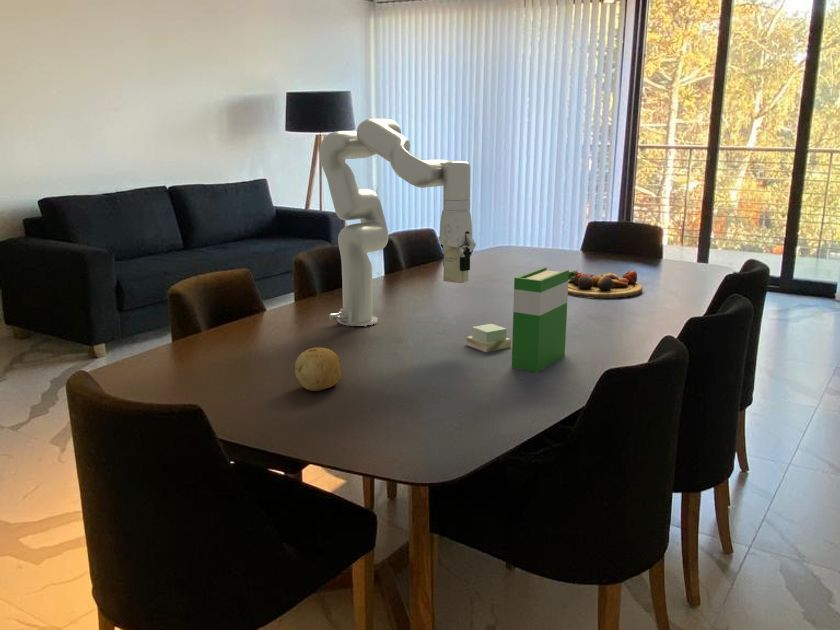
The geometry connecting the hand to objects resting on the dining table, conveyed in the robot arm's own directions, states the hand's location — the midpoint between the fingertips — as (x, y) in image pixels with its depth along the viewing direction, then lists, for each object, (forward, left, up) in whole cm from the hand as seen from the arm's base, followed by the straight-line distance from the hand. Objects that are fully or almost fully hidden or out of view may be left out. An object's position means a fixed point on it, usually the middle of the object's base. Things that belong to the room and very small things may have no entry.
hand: (456, 268), depth 221 cm
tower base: (+6, -8, -23) cm, 25 cm away
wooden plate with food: (+90, +28, -23) cm, 97 cm away
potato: (-51, -12, -23) cm, 57 cm away
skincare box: (0, 0, -4) cm, 4 cm away
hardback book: (+8, -26, -22) cm, 36 cm away
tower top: (+6, -8, -20) cm, 22 cm away
